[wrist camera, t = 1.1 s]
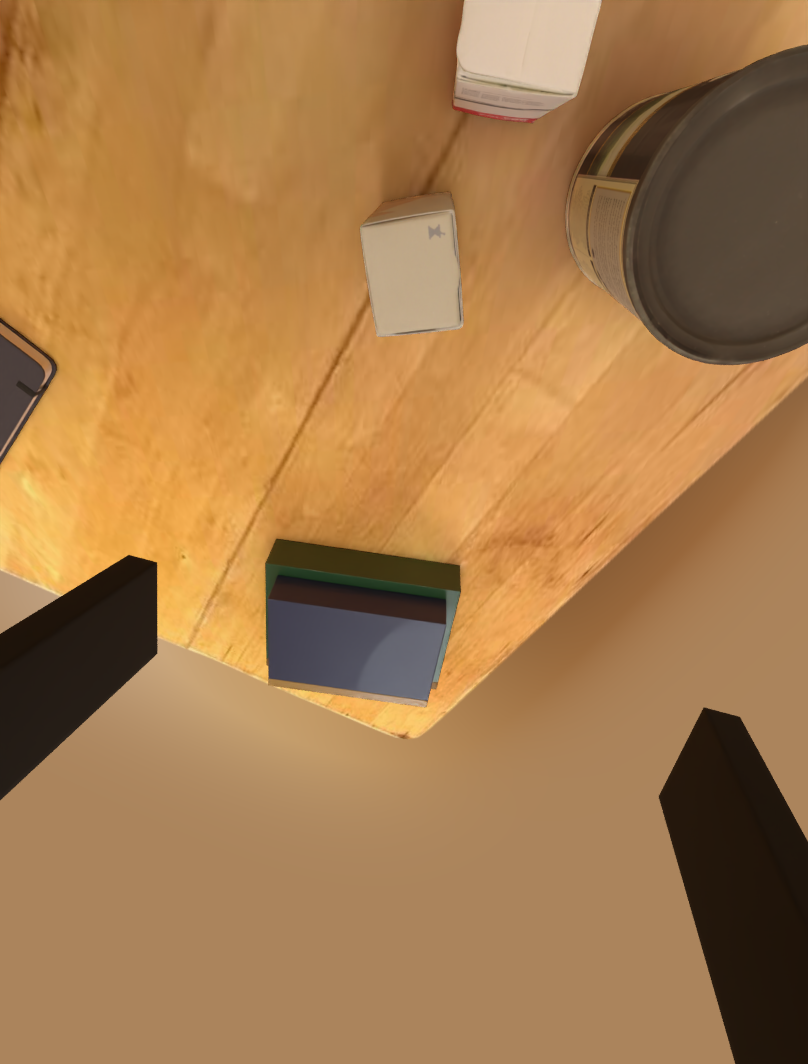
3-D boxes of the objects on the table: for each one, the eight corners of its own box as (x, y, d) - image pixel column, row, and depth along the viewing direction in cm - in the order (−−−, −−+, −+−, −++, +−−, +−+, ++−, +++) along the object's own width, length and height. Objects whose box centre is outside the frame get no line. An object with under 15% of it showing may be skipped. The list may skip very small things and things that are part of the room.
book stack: (276, 638, 54) (257, 691, 48) (276, 538, 47) (254, 587, 42) (436, 660, 54) (435, 716, 49) (460, 565, 48) (461, 617, 42)
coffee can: (615, 60, 29) (733, -12, 17) (790, 129, 30) (1014, 106, 18) (533, 268, 34) (579, 322, 22) (683, 319, 35) (800, 396, 24)
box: (381, 201, 33) (356, 215, 24) (453, 190, 32) (456, 200, 23) (393, 295, 36) (375, 340, 26) (459, 286, 35) (464, 329, 26)
